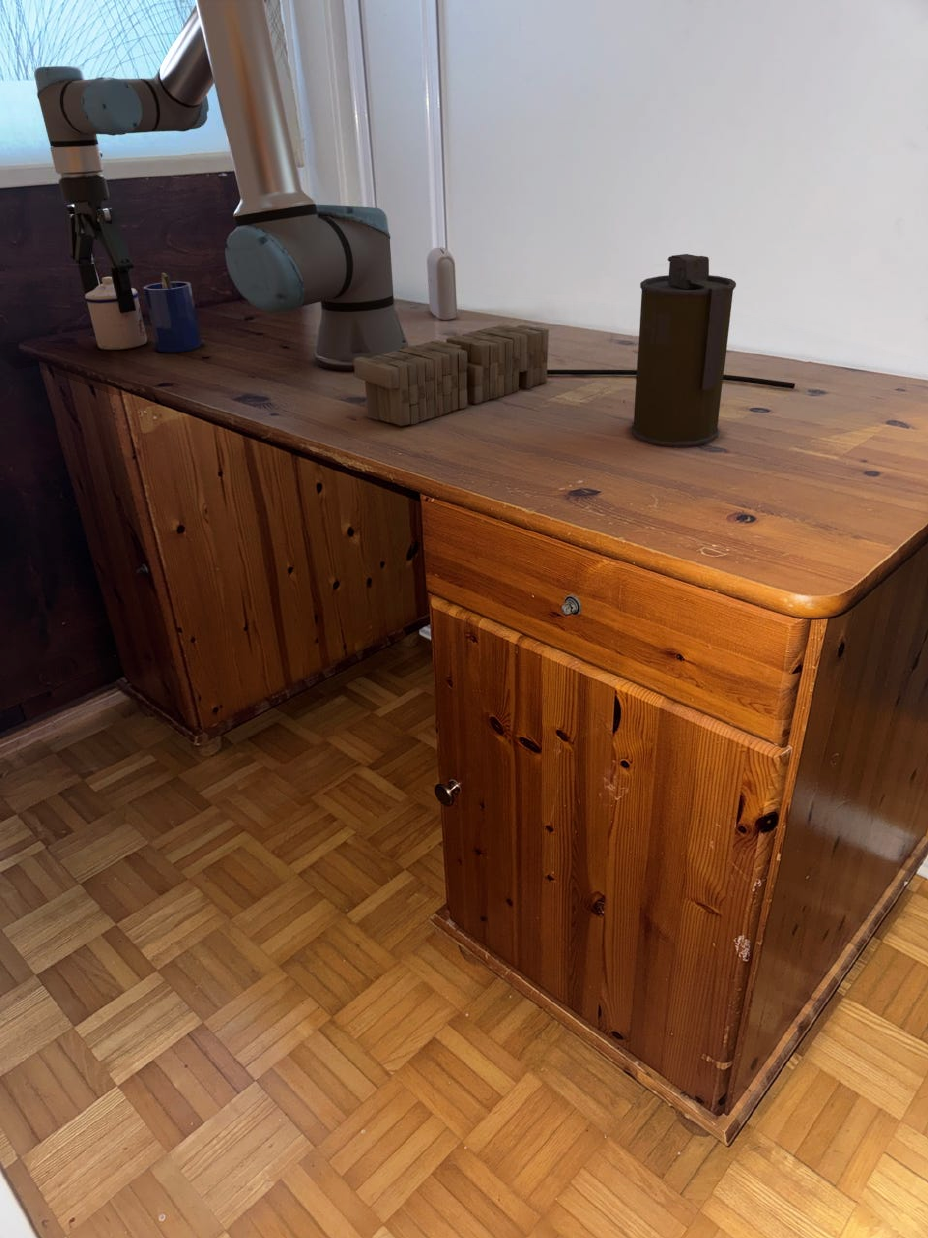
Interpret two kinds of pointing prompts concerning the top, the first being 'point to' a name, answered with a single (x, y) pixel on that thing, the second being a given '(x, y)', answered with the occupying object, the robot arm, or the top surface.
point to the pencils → (166, 281)
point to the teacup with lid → (114, 319)
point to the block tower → (453, 372)
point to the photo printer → (442, 284)
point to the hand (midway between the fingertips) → (111, 306)
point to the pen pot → (173, 317)
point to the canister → (681, 354)
